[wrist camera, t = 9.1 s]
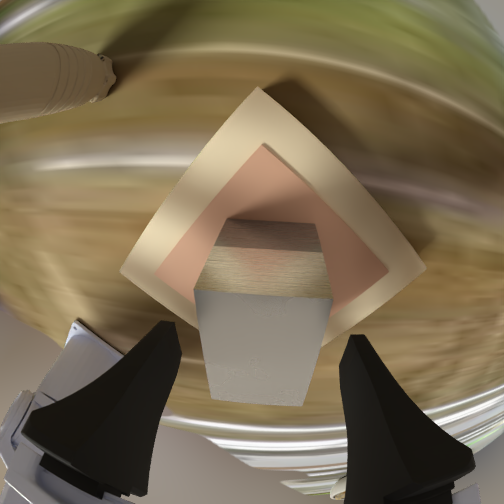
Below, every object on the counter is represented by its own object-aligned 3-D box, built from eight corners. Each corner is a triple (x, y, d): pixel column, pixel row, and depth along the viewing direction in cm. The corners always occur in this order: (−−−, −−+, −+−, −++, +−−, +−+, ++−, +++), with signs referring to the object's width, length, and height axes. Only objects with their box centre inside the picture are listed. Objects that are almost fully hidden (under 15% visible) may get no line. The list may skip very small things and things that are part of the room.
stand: (274, 356, 22) (272, 377, 20) (131, 256, 18) (117, 273, 17) (415, 252, 16) (428, 270, 14) (260, 89, 12) (257, 86, 11)
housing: (315, 223, 14) (333, 299, 8) (299, 325, 17) (302, 406, 12) (226, 218, 14) (193, 289, 9) (230, 320, 17) (211, 398, 12)
